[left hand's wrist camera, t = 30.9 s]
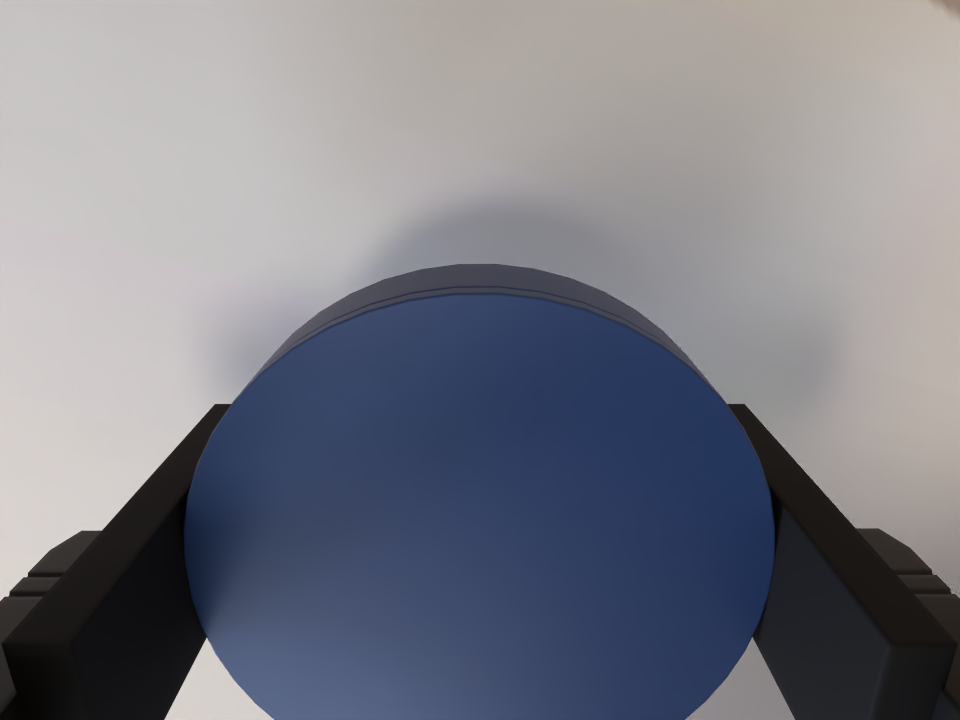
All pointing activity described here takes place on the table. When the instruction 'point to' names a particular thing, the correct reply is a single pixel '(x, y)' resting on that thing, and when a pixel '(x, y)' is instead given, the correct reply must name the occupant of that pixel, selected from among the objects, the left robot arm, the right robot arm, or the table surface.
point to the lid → (479, 511)
